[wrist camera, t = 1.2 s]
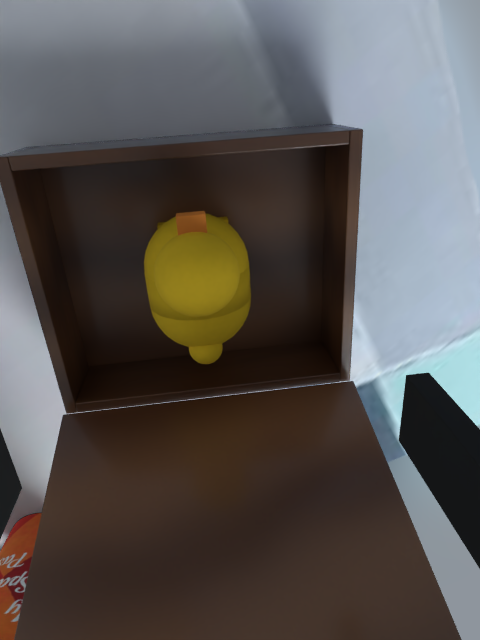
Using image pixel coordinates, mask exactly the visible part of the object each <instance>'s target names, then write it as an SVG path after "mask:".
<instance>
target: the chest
mask: <svg viewBox="0 0 480 640" xmlns="http://www.w3.org/2000/svg"><path fill="white" fill-rule="evenodd" d="M362 139H363V129H359V128H353V127H347V126H341V125H335V124H327V125H314V126H301V127H288V128H275V129H261V130H248V131H235V132H222V133H209V134H195V135H182V136H169V137H156V138H143V139H129V140H116V141H103V142H90V143H77V144H63V145H50V146H37V147H26V148H23V149H20V150H16V151H13V152H10V153H7V154H3V155H0V184H1V187H2V191H3V194H4V198H5V201H6V205H7V208H8V212H9V215H10V218H11V222H12V225H13V229H14V232H15V236H16V239H17V243H18V246H19V250H20V253H21V257H22V260H23V264H24V267H25V271H26V274H27V278H28V281H29V285H30V288H31V291H32V295H33V298H34V302H35V305H36V309H37V312H38V316H39V319H40V323H41V326H42V330H43V333H44V337H45V340H46V344H47V347H48V351H49V354H50V358H51V361H52V364H53V368H54V371H55V375H56V378H57V382H58V385H59V389H60V392H61V396H62V399H63V403H64V406H65V410H66V413H76V412H77V411H78V412H85V411H94V410H102V409H111V408H119V407H128V406H136V405H145V404H154V403H162V402H171V401H179V400H188V399H196V398H205V397H213V396H222V395H231V394H239V393H248V392H256V391H265V390H273V389H282V388H291V387H299V386H308V385H316V384H325V383H333V382H339V381H349V380H350V367H351V348H352V329H353V310H354V291H355V272H356V253H357V234H358V215H359V196H360V177H361V158H362ZM196 211H205V213H206V214H210V215H213V216H216V217H227V218H228V224H230V225H231V226H232V227H233V228H234V230H235V231H236V232H237V233H238V234H239V236H240V237H241V239H242V240H243V242H244V244H245V247H246V250H247V253H248V260H249V269H250V287H251V304H250V309H249V313H248V316H247V318H246V320H245V322H244V324H243V326H242V327H241V328H240V330H239V331H238V332H237V333H236V334H235V335H234V336H233V337H232V338H230V339H229V340H227V341H226V342H224V343H222V345H223V349H222V353H221V355H220V357H219V358H218V359H217V360H216V361H215V362H213V363H211V364H201V363H198V362H196V361H195V360H194V359H193V358H192V357H191V355H190V352H189V347H187V346H184V345H181V344H179V343H177V342H175V341H173V340H172V339H171V338H169V337H168V336H167V335H165V334H164V333H163V331H162V330H161V329H160V328H159V326H158V325H157V323H156V321H155V319H154V318H153V315H152V312H151V308H150V304H149V298H148V292H147V286H146V280H145V274H144V273H145V270H144V258H145V251H146V249H147V246H148V243H149V241H150V239H151V238H152V236H153V235H154V233H155V232H156V231H157V230H158V229H157V225H158V223H160V222H167V221H168V220H170V219H172V218H174V217H176V213H185V212H196Z"/></svg>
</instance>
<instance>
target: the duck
mask: <svg viewBox="0 0 480 640" xmlns="http://www.w3.org/2000/svg"><path fill="white" fill-rule="evenodd" d="M157 229H158V230H157V231H156V232H155V233H154V235H153V236H152V238H151V239H150V241H149V243H148V246H147V249H146V251H145V258H144V270H145V273H144V274H145V280H146V286H147V292H148V298H149V304H150V308H151V312H152V315H153V318H154V319H155V321H156V323H157V325H158V326H159V328H160V329H161V330H162V331H163V333H164V334H165V335H167V336H168V337H169V338H171V339H172V340H173V341H175V342H177V343H179V344H181V345H184V346H187V347H189V352H190V355H191V357H192V358H193V359H194V360H195V361H196V362H198V363H201V364H211V363H213V362H215V361H216V360H217V359H218V358H219V357H220V355H221V353H222V349H223V345H222V343H224V342H226V341H227V340H229V339H230V338H232V337H233V336H234V335H235V334H236V333H237V332H238V331H239V330H240V328H241V327H242V326H243V324H244V322H245V320H246V318H247V316H248V313H249V309H250V304H251V287H250V269H249V260H248V253H247V250H246V247H245V244H244V242H243V240H242V239H241V237H240V236H239V234H238V233H237V232H236V231H235V230H234V228H233V227H232V226H231V225H230V224H228V218H227V217H216V216H213V215H210V214H206V213H205V211H196V212H185V213H176V217H174V218H172V219H170V220H168V221H167V222H160V223H158V225H157Z"/></svg>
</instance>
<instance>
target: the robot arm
mask: <svg viewBox="0 0 480 640" xmlns="http://www.w3.org/2000/svg"><path fill="white" fill-rule="evenodd" d="M399 441H400V443H401V445H402V446H403V448H404V449H405V451H406V453H407V454H408V456H409V457H410V459H411V460H412V462H413V464H414V465H415V467H416V468H417V470H418V472H419V473H420V475H421V476H422V478H423V479H424V481H425V483H426V484H427V486H428V487H429V489H430V491H431V492H432V494H433V495H434V497H435V499H436V500H437V502H438V503H439V505H440V506H441V508H442V509H443V511H444V513H445V514H446V516H447V518H448V519H449V521H450V522H451V524H452V525H453V527H454V529H455V530H456V532H457V533H458V535H459V536H460V538H461V540H462V541H463V543H464V544H465V546H466V547H467V549H468V551H469V552H470V554H471V556H472V557H473V559H474V560H475V562H476V563H477V565H478V566H479V568H480V429H479V428H478V427H477V426H476V425H475V424H474V423H473V421H472V420H471V419H470V418H469V417H468V416H467V415H466V414H465V413H464V411H463V410H462V409H461V408H460V407H459V406H458V405H457V404H456V403H455V401H454V400H453V399H452V398H451V397H450V396H449V395H448V394H447V393H446V391H445V390H444V389H443V388H442V387H441V386H440V385H439V384H438V383H437V381H436V380H435V379H434V378H433V377H432V376H431V375H430V374H429V373H422V374H413V375H406V382H405V391H404V400H403V409H402V418H401V426H400V435H399ZM21 489H22V486H21V484H20V481H19V478H18V476H17V473H16V470H15V467H14V465H13V462H12V459H11V457H10V454H9V451H8V449H7V446H6V443H5V440H4V438H3V435H2V432H1V430H0V539H1V536H2V534H3V532H4V529H5V527H6V525H7V522H8V520H9V517H10V515H11V513H12V510H13V508H14V506H15V503H16V501H17V499H18V496H19V494H20V492H21Z"/></svg>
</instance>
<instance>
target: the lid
mask: <svg viewBox="0 0 480 640" xmlns="http://www.w3.org/2000/svg"><path fill="white" fill-rule="evenodd" d="M14 640H461V637H460V635H459V633H458V630H457V628H456V626H455V623H454V621H453V618H452V616H451V614H450V611H449V609H448V606H447V604H446V602H445V599H444V597H443V595H442V592H441V590H440V587H439V585H438V583H437V580H436V578H435V575H434V573H433V571H432V568H431V566H430V564H429V561H428V559H427V557H426V554H425V552H424V549H423V547H422V544H421V542H420V540H419V537H418V535H417V532H416V530H415V528H414V525H413V523H412V520H411V518H410V516H409V513H408V511H407V509H406V506H405V504H404V502H403V499H402V497H401V494H400V492H399V489H398V487H397V485H396V482H395V480H394V478H393V475H392V473H391V471H390V468H389V466H388V463H387V461H386V458H385V456H384V454H383V451H382V449H381V446H380V444H379V442H378V439H377V437H376V435H375V432H374V430H373V427H372V425H371V423H370V420H369V418H368V415H367V413H366V411H365V408H364V406H363V404H362V401H361V399H360V396H359V394H358V392H357V389H356V387H355V384H354V382H353V381H349V382H340V383H331V384H323V385H314V386H306V387H297V388H289V389H280V390H272V391H263V392H255V393H246V394H237V395H229V396H220V397H212V398H203V399H195V400H186V401H178V402H169V403H161V404H152V405H143V406H135V407H126V408H118V409H109V410H101V411H92V412H84V413H75V414H67V415H63V418H62V422H61V427H60V431H59V436H58V441H57V445H56V450H55V454H54V459H53V463H52V468H51V473H50V477H49V482H48V486H47V491H46V496H45V500H44V505H43V509H42V514H41V518H40V523H39V528H38V532H37V537H36V541H35V546H34V551H33V555H32V560H31V564H30V569H29V573H28V578H27V583H26V587H25V592H24V596H23V601H22V606H21V610H20V615H19V619H18V624H17V629H16V633H15V638H14Z"/></svg>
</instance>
